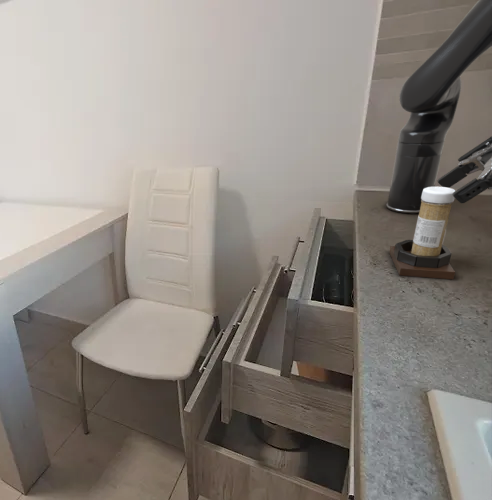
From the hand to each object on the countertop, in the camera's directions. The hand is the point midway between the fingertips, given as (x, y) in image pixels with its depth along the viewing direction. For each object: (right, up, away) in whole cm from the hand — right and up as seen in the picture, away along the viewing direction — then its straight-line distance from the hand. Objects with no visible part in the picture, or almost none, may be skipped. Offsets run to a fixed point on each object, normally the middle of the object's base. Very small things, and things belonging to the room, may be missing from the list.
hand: (448, 191), depth 63 cm
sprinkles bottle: (0, -12, +6) cm, 13 cm away
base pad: (0, -13, +7) cm, 14 cm away
